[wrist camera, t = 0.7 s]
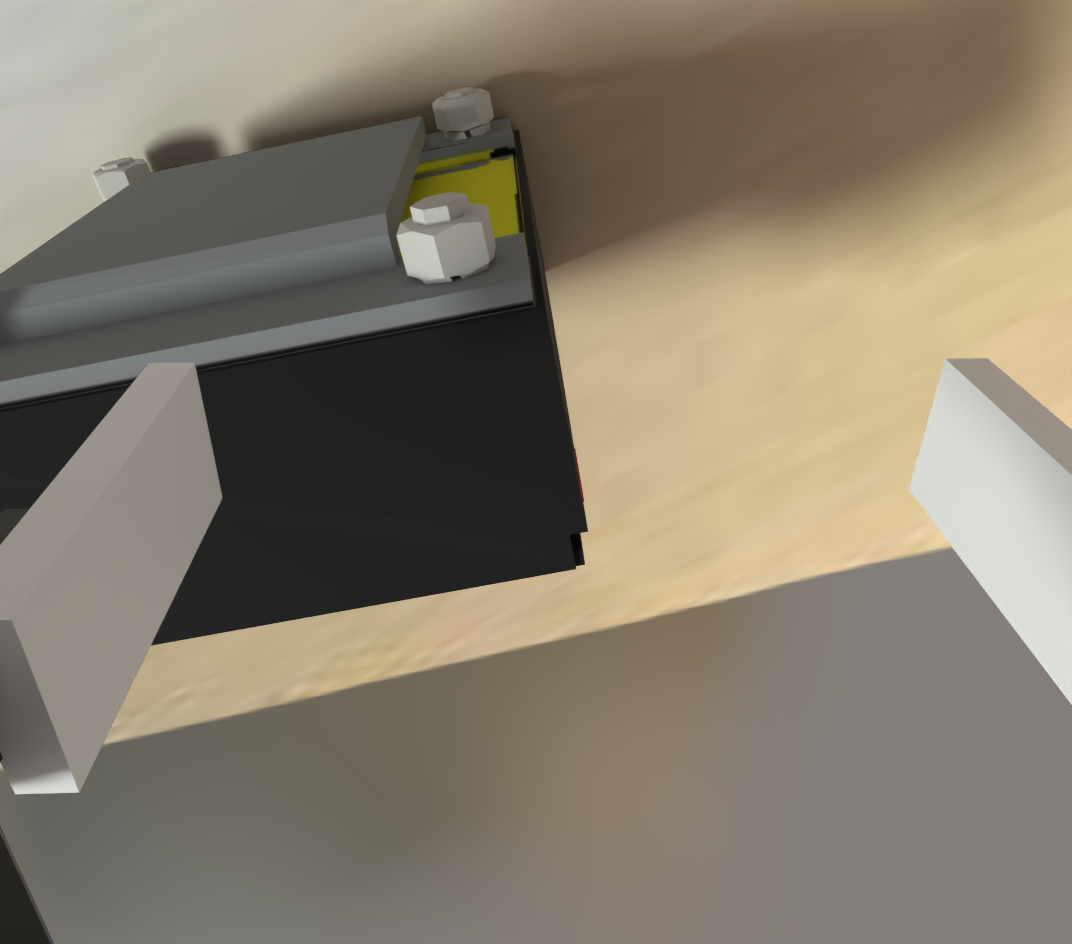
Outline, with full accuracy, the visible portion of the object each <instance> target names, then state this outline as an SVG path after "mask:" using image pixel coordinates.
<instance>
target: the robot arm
mask: <svg viewBox="0 0 1072 944" xmlns="http://www.w3.org/2000/svg"><path fill="white" fill-rule="evenodd" d="M909 491H910V492H911V493H912V495H913V496H914V497H915V499H916V500H917V501H918V502H919V504H920V505H921V506H922V508H923V509H924V510H925V512H926V513H927V514H928V516H929V517H930V518H931V520H932V521H933V522H934V524H935V525H936V526H937V528H938V529H939V530H940V532H941V533H942V534H943V535H944V537H945V538H946V539H947V541H948V542H949V543H950V545H951V546H952V547H953V549H954V550H955V551H956V553H957V554H958V555H959V557H960V558H961V559H962V561H963V562H964V563H965V564H966V566H967V567H968V568H969V570H970V571H971V572H972V574H973V575H974V576H975V578H976V579H977V580H978V582H979V583H980V584H981V586H982V587H983V588H984V590H985V591H986V592H987V594H988V595H989V596H990V597H991V599H992V600H993V601H994V603H995V604H996V605H997V607H998V608H999V609H1000V611H1001V612H1002V613H1003V614H1004V616H1005V617H1006V618H1007V620H1008V621H1009V623H1010V624H1011V625H1012V626H1013V628H1014V629H1015V630H1016V632H1017V633H1018V634H1019V636H1020V637H1021V638H1022V640H1023V641H1024V642H1025V644H1026V645H1027V646H1028V648H1029V649H1030V650H1031V652H1032V653H1033V654H1034V655H1035V657H1036V658H1037V659H1038V661H1039V662H1040V663H1041V665H1042V666H1043V667H1044V669H1045V670H1046V671H1047V673H1048V674H1049V675H1050V677H1051V678H1052V679H1053V680H1054V682H1055V683H1056V684H1057V686H1058V687H1059V689H1060V690H1061V691H1062V692H1063V694H1064V695H1065V696H1066V698H1067V699H1068V700H1069V702H1070V703H1071V704H1072V429H1070V428H1069V427H1068V426H1067V425H1066V424H1064V423H1063V422H1062V421H1061V420H1060V419H1059V418H1057V417H1056V416H1055V415H1054V414H1053V413H1051V412H1050V411H1049V410H1048V409H1047V408H1046V407H1044V406H1043V405H1042V404H1041V403H1040V402H1038V401H1037V400H1036V399H1035V398H1034V397H1033V396H1031V395H1030V394H1029V393H1028V392H1027V391H1025V390H1024V389H1023V388H1022V387H1021V386H1019V385H1018V384H1017V383H1016V382H1015V381H1014V380H1012V379H1011V378H1010V377H1009V376H1008V375H1006V374H1005V373H1004V372H1003V371H1002V370H1001V369H999V368H998V367H997V366H996V365H995V364H993V363H992V362H991V361H990V360H989V359H987V358H980V359H945V362H944V365H943V369H942V372H941V376H940V380H939V383H938V387H937V390H936V394H935V397H934V401H933V405H932V408H931V412H930V415H929V419H928V423H927V426H926V430H925V433H924V437H923V441H922V444H921V448H920V451H919V455H918V459H917V462H916V466H915V469H914V473H913V477H912V480H911V484H910V487H909ZM221 500H222V493H221V488H220V483H219V478H218V473H217V469H216V464H215V459H214V454H213V449H212V444H211V440H210V435H209V430H208V425H207V420H206V415H205V411H204V406H203V401H202V396H201V391H200V386H199V382H198V377H197V372H196V367H195V363H149V364H148V365H147V366H146V367H145V368H144V370H143V371H142V372H141V373H140V375H139V376H138V377H137V378H136V379H135V381H134V382H133V383H132V384H131V386H130V387H129V388H128V389H127V390H126V392H125V393H124V394H123V395H122V397H121V398H120V399H119V400H118V401H117V403H116V404H115V405H114V406H113V408H112V409H111V410H110V411H109V413H108V414H107V415H106V416H105V417H104V419H103V420H102V421H101V422H100V424H99V425H98V426H97V427H96V428H95V430H94V431H93V432H92V433H91V435H90V436H89V437H88V438H87V439H86V441H85V442H84V443H83V444H82V446H81V447H80V448H79V449H78V450H77V452H76V453H75V454H74V455H73V457H72V458H71V459H70V460H69V461H68V463H67V464H66V465H65V466H64V468H63V469H62V470H61V471H60V473H59V474H58V475H57V476H56V477H55V479H54V480H53V481H52V482H51V484H50V485H49V486H48V487H47V488H46V490H45V491H44V492H43V493H42V495H41V496H40V497H39V498H38V499H37V501H36V502H35V503H34V504H33V506H32V507H31V508H30V509H6V510H4V511H2V512H1V513H0V762H1V763H2V766H3V768H4V770H5V772H6V775H7V777H8V779H9V781H10V783H11V786H12V788H13V790H14V792H15V794H36V793H37V794H38V793H74V792H75V793H76V792H80V790H81V788H82V785H83V784H84V782H85V779H86V777H87V775H88V773H89V771H90V769H91V767H92V765H93V763H94V761H95V759H96V757H97V755H98V753H99V750H100V749H101V747H102V745H103V742H104V740H105V738H106V736H107V734H108V732H109V730H110V728H111V726H112V724H113V722H114V720H115V718H116V716H117V714H118V712H119V710H120V708H121V705H122V703H123V701H124V699H125V697H126V695H127V693H128V691H129V689H130V687H131V685H132V683H133V681H134V679H135V677H136V675H137V673H138V671H139V668H140V666H141V664H142V662H143V660H144V658H145V656H146V654H147V652H148V650H149V648H150V646H151V644H152V642H153V640H154V638H155V636H156V634H157V631H158V629H159V627H160V625H161V623H162V621H163V619H164V617H165V615H166V613H167V611H168V609H169V607H170V605H171V603H172V601H173V599H174V597H175V594H176V592H177V590H178V588H179V586H180V584H181V582H182V580H183V578H184V576H185V574H186V572H187V570H188V568H189V566H190V564H191V562H192V560H193V557H194V555H195V553H196V551H197V549H198V547H199V545H200V543H201V541H202V539H203V537H204V535H205V533H206V531H207V529H208V527H209V525H210V523H211V520H212V518H213V516H214V514H215V512H216V510H217V508H218V506H219V504H220V502H221ZM0 944H54V943H53V940H52V938H51V936H50V934H49V932H48V929H47V927H46V925H45V923H44V921H43V919H42V916H41V914H40V912H39V910H38V908H37V905H36V903H35V901H34V899H33V897H32V895H31V892H30V890H29V888H28V886H27V884H26V881H25V879H24V877H23V875H22V873H21V871H20V868H19V866H18V864H17V862H16V860H15V857H14V855H13V853H12V851H11V849H10V846H9V844H8V842H7V840H6V838H5V836H4V833H3V831H2V829H1V827H0Z"/></svg>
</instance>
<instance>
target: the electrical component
mask: <svg viewBox="0 0 1072 944" xmlns="http://www.w3.org/2000/svg"><path fill="white" fill-rule="evenodd" d="M432 108H433V112H434V116H435V121H436V125H437V129H439V130H441V131H440V132H435V133H430V134H427V132H426V128H425V124H424V122H423V119H422V116H419V117H414V118H410V119H405V120H400V121H395V122H390V123H386V124H381V125H376V126H371V127H366V128H362V129H357V130H352V131H347V132H342V133H338V134H333V135H328V136H323V137H318V138H314V139H309V140H304V141H299V142H294V143H290V144H285V145H280V146H275V147H271V148H266V149H261V150H256V151H251V152H247V153H242V154H237V155H232V156H227V157H223V158H218V159H213V160H208V161H203V162H199V163H194V164H189V165H184V166H179V167H175V168H170V169H165V170H160V171H155V172H150V170H149V168H148V165H147V163H146V162H145V161H144V160H143V159H134V160H133V158H123V159H119V160H115V161H111V162H108V163H106V164H103V165H101V166H100V167H101V168H100V169H99V170H97V171H96V172H94V173H92V176H93V179H94V181H95V183H96V185H97V188H98V190H99V192H100V194H101V197H102V199H103V200H104V201H105V202H104V203H102V204H101V205H99V206H98V207H96V208H95V209H93V210H92V211H91V212H89V213H88V214H86V215H85V216H83V217H82V218H80V219H79V220H78V221H76V222H75V223H73V224H72V225H70V226H69V227H68V228H66V229H65V230H63V231H62V232H60V233H59V234H57V235H56V236H55V237H53V238H52V239H50V240H49V241H47V242H46V243H44V244H43V245H42V246H40V247H39V248H37V249H36V250H34V251H33V252H32V253H30V254H29V255H27V256H26V257H24V258H23V259H21V260H20V261H19V262H17V263H16V264H14V265H13V266H11V267H10V268H8V269H7V270H6V271H4V272H3V273H1V274H0V513H1V512H2V511H4V510H6V509H30V508H31V507H32V506H33V504H34V503H35V502H36V501H37V499H38V498H39V497H40V496H41V495H42V493H43V492H44V491H45V490H46V488H47V487H48V486H49V485H50V484H51V482H52V481H53V480H54V479H55V477H56V476H57V475H58V474H59V473H60V471H61V470H62V469H63V468H64V466H65V465H66V464H67V463H68V461H69V460H70V459H71V458H72V457H73V455H74V454H75V453H76V452H77V450H78V449H79V448H80V447H81V446H82V444H83V443H84V442H85V441H86V439H87V438H88V437H89V436H90V435H91V433H92V432H93V431H94V430H95V428H96V427H97V426H98V425H99V424H100V422H101V421H102V420H103V419H104V417H105V416H106V415H107V414H108V413H109V411H110V410H111V409H112V408H113V406H114V405H115V404H116V403H117V401H118V400H119V399H120V398H121V397H122V395H123V394H124V393H125V392H126V390H127V389H128V388H129V387H130V386H131V384H132V383H133V382H134V381H135V379H136V378H137V377H138V376H139V375H140V373H141V372H142V371H143V370H144V368H145V367H146V366H147V365H148V364H149V363H195V367H196V372H197V377H198V382H199V386H200V391H201V396H202V401H203V406H204V411H205V415H206V420H207V425H208V430H209V435H210V440H211V444H212V449H213V454H214V459H215V464H216V469H217V473H218V478H219V483H220V488H221V493H222V500H221V502H220V504H219V506H218V508H217V510H216V512H215V514H214V516H213V518H212V520H211V523H210V525H209V527H208V529H207V531H206V533H205V535H204V537H203V539H202V541H201V543H200V545H199V547H198V549H197V551H196V553H195V555H194V557H193V560H192V562H191V564H190V566H189V568H188V570H187V572H186V574H185V576H184V578H183V580H182V582H181V584H180V586H179V588H178V590H177V592H176V594H175V597H174V599H173V601H172V603H171V605H170V607H169V609H168V611H167V613H166V615H165V617H164V619H163V621H162V623H161V625H160V627H159V629H158V631H157V634H156V636H155V638H154V640H153V642H152V644H151V645H156V644H162V643H167V642H173V641H178V640H184V639H190V638H195V637H201V636H206V635H212V634H217V633H223V632H229V631H234V630H240V629H245V628H251V627H256V626H262V625H267V624H273V623H279V622H284V621H290V620H295V619H301V618H306V617H312V616H318V615H323V614H329V613H334V612H340V611H345V610H351V609H356V608H362V607H368V606H373V605H379V604H384V603H390V602H395V601H401V600H406V599H412V598H418V597H423V596H429V595H434V594H440V593H445V592H451V591H457V590H462V589H468V588H473V587H479V586H484V585H490V584H495V583H501V582H507V581H512V580H518V579H523V578H529V577H534V576H540V575H546V574H551V573H557V572H562V571H568V570H573V569H576V566H579V565H585V562H584V555H583V548H582V542H581V535H580V533H582V532H587V531H588V528H587V522H586V516H585V510H584V504H583V502H584V498H583V492H582V486H581V480H580V474H579V469H578V463H577V457H576V451H575V449H574V444H573V438H572V432H571V426H570V420H569V414H568V408H567V402H566V396H565V390H564V384H563V378H562V372H561V366H560V360H559V354H558V348H557V342H556V336H555V330H554V324H553V318H552V312H551V306H550V300H549V294H548V288H547V282H546V275H545V270H544V264H543V259H542V254H541V248H540V243H539V237H538V232H537V227H536V221H535V216H534V210H533V205H532V200H531V194H530V189H529V183H528V178H527V173H526V167H525V162H524V157H523V151H522V146H521V140H520V135H519V130H518V131H514V132H513V130H512V125H511V120H510V117H508V118H503V119H498V120H493V121H491V120H492V119H493V118H494V114H493V109H492V104H491V99H490V94H489V92H488V91H486V90H484V89H474V88H473V87H464V88H459V89H455V90H451V91H447V92H446V93H445V96H441V97H439V98H438V99H436V100H435V101H434V102H433V103H432Z"/></svg>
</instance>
